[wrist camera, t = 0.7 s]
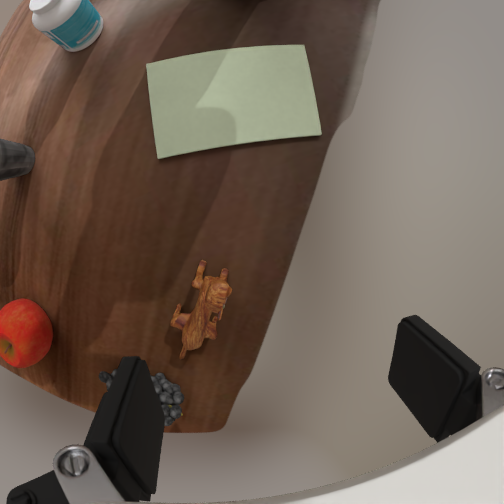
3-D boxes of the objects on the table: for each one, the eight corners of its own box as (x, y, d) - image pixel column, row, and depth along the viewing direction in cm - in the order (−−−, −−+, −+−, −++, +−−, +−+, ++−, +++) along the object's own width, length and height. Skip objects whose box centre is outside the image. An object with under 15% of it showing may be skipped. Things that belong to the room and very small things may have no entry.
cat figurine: (201, 360, 44) (198, 422, 31) (161, 348, 43) (146, 407, 29) (243, 258, 40) (255, 298, 27) (197, 242, 39) (188, 275, 26)
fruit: (85, 407, 34) (178, 439, 36) (93, 362, 35) (192, 396, 37) (100, 388, 42) (180, 414, 45) (108, 347, 43) (191, 376, 46)
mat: (147, 65, 32) (146, 64, 31) (303, 46, 34) (304, 44, 33) (158, 159, 36) (157, 158, 35) (320, 135, 37) (321, 134, 37)
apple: (7, 320, 38) (-23, 348, 28) (21, 279, 37) (-15, 304, 27) (48, 357, 41) (23, 392, 31) (66, 320, 40) (37, 354, 29)
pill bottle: (110, 11, 28) (79, -33, 15) (98, 49, 30) (58, 11, 17) (70, 19, 27) (33, -18, 14) (57, 56, 29) (12, 26, 16)
